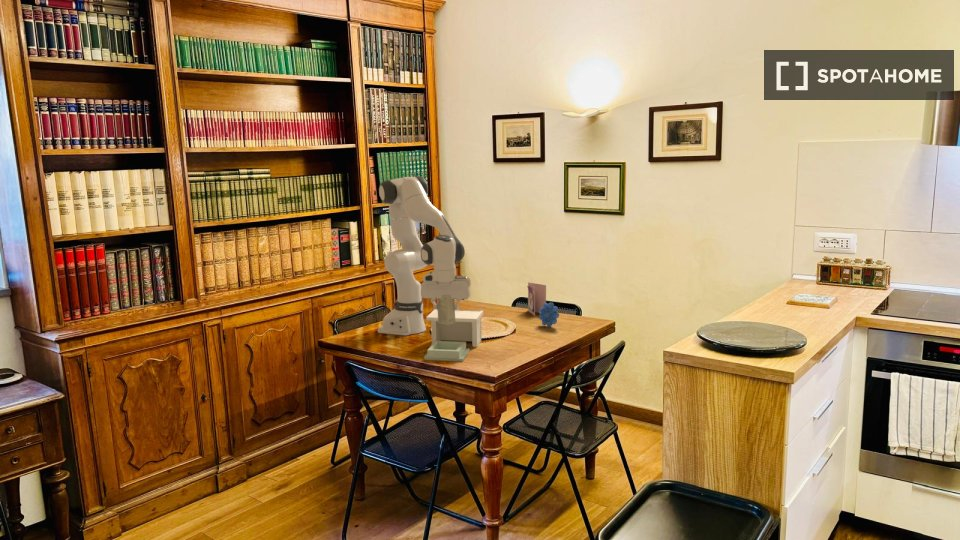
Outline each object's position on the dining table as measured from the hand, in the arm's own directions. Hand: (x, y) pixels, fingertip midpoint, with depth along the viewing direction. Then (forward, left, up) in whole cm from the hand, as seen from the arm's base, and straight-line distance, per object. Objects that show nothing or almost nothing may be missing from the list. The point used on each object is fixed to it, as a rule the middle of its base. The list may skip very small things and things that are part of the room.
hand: (446, 309), depth 280 cm
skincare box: (0, 0, -6) cm, 6 cm away
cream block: (0, +16, -20) cm, 25 cm away
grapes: (+38, +50, -20) cm, 66 cm away
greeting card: (+29, +75, -20) cm, 83 cm away
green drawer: (0, 0, -20) cm, 20 cm away
